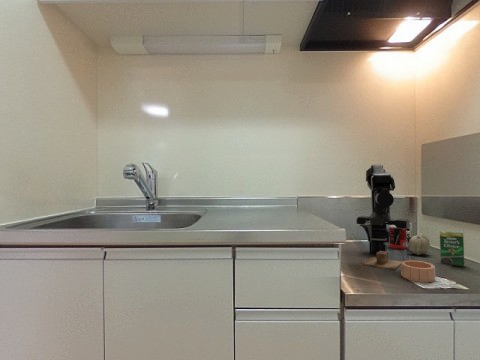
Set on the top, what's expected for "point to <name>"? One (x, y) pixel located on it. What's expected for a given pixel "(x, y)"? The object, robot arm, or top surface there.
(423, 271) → the bowl
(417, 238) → the garlic bulb
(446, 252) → the coffee box
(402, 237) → the canned food
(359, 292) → the top surface
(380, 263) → the lid
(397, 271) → the mat
